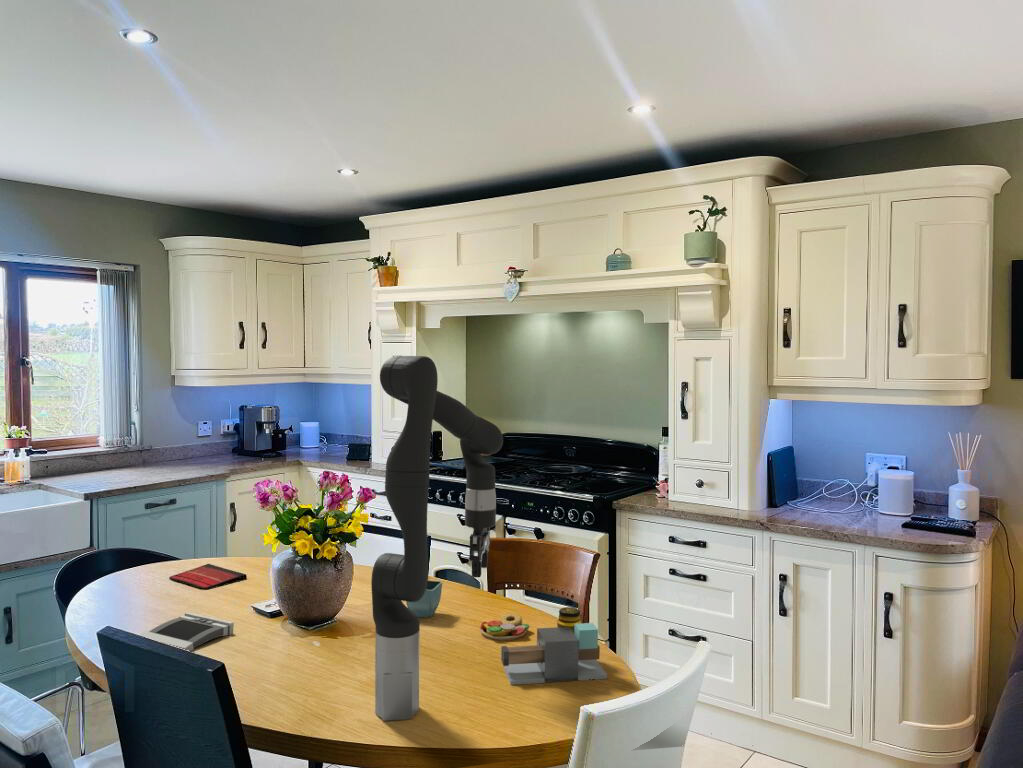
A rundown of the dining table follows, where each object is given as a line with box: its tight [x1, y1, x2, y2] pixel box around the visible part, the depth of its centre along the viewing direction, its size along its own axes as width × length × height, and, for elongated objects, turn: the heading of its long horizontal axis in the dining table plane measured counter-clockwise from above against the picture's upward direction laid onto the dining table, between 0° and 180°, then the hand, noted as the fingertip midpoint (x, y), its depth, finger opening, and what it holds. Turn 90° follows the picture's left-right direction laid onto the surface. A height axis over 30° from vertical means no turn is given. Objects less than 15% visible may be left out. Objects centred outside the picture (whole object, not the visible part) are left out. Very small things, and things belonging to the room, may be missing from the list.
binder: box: [169, 563, 248, 591], centre depth 255 cm, size 16×2×21 cm
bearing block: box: [536, 626, 579, 684], centre depth 182 cm, size 9×8×10 cm
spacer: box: [574, 622, 599, 649], centre depth 183 cm, size 4×4×4 cm
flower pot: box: [405, 579, 443, 619], centre depth 222 cm, size 9×9×9 cm
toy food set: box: [479, 613, 530, 641], centre depth 209 cm, size 13×13×3 cm
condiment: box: [556, 606, 582, 633], centre depth 193 cm, size 7×8×12 cm
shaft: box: [500, 644, 601, 667], centre depth 182 cm, size 3×23×3 cm, turn 100°
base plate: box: [503, 659, 608, 686], centre depth 182 cm, size 9×23×1 cm, turn 100°
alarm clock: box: [140, 612, 235, 652], centre depth 202 cm, size 17×5×16 cm
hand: (479, 572), depth 188 cm, fingers open, 8 cm apart
